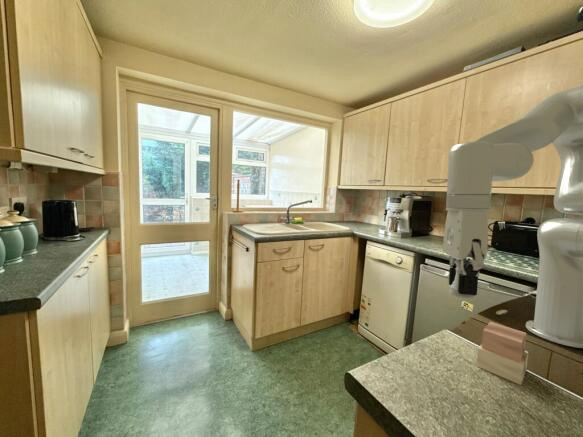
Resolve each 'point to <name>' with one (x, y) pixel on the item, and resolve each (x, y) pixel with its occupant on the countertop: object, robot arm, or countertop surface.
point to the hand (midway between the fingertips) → (461, 289)
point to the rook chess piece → (455, 284)
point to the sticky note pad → (503, 352)
